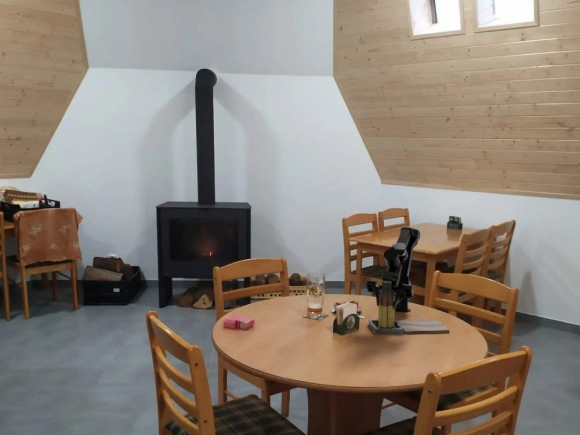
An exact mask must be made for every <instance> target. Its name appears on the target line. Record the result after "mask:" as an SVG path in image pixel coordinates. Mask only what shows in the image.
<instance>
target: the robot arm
mask: <svg viewBox="0 0 580 435" xmlns="http://www.w3.org/2000/svg"><path fill="white" fill-rule="evenodd" d="M419 240H421V231H420V230H418V229H415V228H414V227H412V226H402V227H401V228H400V231H399V236H398V238H397V241H396V243H394V244H392V245H391V246H390V247H389V248H388V249H386V250H385V251H384V252H383V259H384V262H385V265H386V267H387V268H386V271H385V270H382V271H381V277H380V278H381V282H382V281H383V280H390V281H392V285H391V292H392V294H393V296H394V303H393V308H394V311H396V312H412V310H411V309H410V308H409V299H413V298H414V293H415V292H414V287H413V285H412V283H411V281H410V278H409V274H410V270H411V264H412V260H413V259H412V258H413V254H414V253H413V252H414V249H415V248H416V246H417V245H418V244H419ZM365 287H366V290H367V292H369V293H372V294H373V295H375V298H376V299H375V300H376V306H377V307H379V296H380V294H381V291H382V284H379V283H378V281H377V280H374V279H368V280H367V281H366V283H365Z"/></svg>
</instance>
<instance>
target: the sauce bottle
mask: <svg viewBox="0 0 580 435" xmlns="http://www.w3.org/2000/svg"><path fill="white" fill-rule="evenodd" d="M381 285H382V290H381V291H380V293H381V294H380V296H379V306H378V310H377V312H378V315H377V316H378V317H377V318H378V319H377V320H378V325H377V326H378V329H386V328H395V326H394V319H395V309H394V308H393V303H394V300H395V296H393V294H392V292H391V285H392V281H390V280H383V281H382V280H381Z"/></svg>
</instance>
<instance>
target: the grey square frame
mask: <svg viewBox="0 0 580 435" xmlns="http://www.w3.org/2000/svg"><path fill="white" fill-rule="evenodd" d="M396 320H397V319H395V318H394V328H386V329H379V328H377V326H379V325H378V319H368V326H369V328H370V329H371V330H372V332H373V331H374V332H373V334H374V335H398V334H399V335H403V334H404V329H403V328H402V326H401V325H400V324H399V323H398V322H397V321H396Z"/></svg>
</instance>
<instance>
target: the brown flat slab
mask: <svg viewBox="0 0 580 435" xmlns="http://www.w3.org/2000/svg"><path fill="white" fill-rule="evenodd" d="M395 320H396V321H397V322H398V323H399V324H400V325H401V326H402V328H403V329H404V332H403V334H406V335H407V334H441V333H443V334H444V333H445V334H446V333H448V334H449V333H450V329H449V328H447V327H446V325H444V324H443V323H442V322H441V321H440V320H438V319H437V318H433V319H432V318H431V319H430V318H428V319H395Z"/></svg>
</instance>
